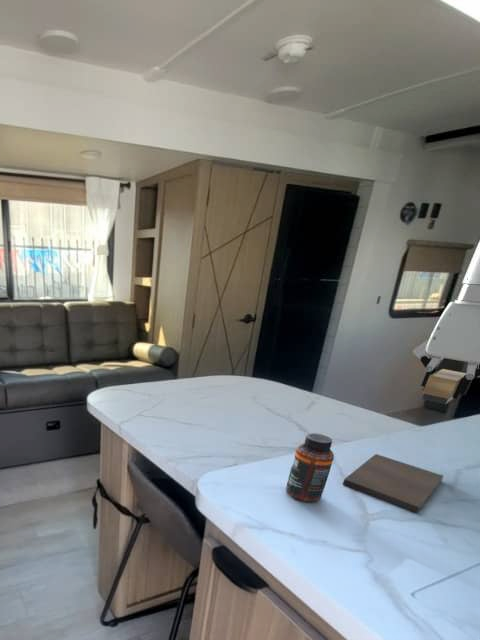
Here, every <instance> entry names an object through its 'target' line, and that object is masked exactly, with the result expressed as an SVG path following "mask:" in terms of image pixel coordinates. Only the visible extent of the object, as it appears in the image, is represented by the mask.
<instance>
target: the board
mask: <svg viewBox="0 0 480 640" xmlns="http://www.w3.org/2000/svg"><path fill="white" fill-rule="evenodd" d="M443 479H444V475H443V474H440V473H437V472H434V471H430V470H426V469H424V468H421V467H417V466H416V465H411V464H408V463H405V462H403V461H399V460H396V459H392V458H389V457H387V456H384V455H381V454H377V453H375V454H374V455H372V456H371V457H370V458H369V459H367V460H366V461H365V462H363V464H361V465H360V466H359V467H358V468H356V469H355V470H354V471H352V472H351V473H350V474H349V475H347V477H345V478H344V480H343V481H342V485H343V486H346V487H348V488H351V489H354V490H356V491H359V492H362V493H364V494H365V495H366V494H367V495H369V496H371V497H374V498H376V499H379V500H382V501H385V502H387V503H390V504H392V505H395V506H397V507H400V508H402V509H405V510H408V511H410V512H413V513H415V514H417V513H419V511H420V510H421V508H422V507H423V506H424V504H425V503H426V502H427V500H429V498H430V496H431V495H432V494H433V493H434V492H435V490H436V489H437V487H438V486H439V485H440V483H442V481H443Z"/></svg>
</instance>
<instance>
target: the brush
mask: <svg viewBox="0 0 480 640" xmlns="http://www.w3.org/2000/svg"><path fill="white" fill-rule="evenodd" d="M464 375H466V372H461V371H456V370H451V369H447V368H446V369H445V368H442V369H440V370H437V372H436V373H434V374H432V375H430V376H429V379H428V381H427V383H426V386H425V388H424V387H423V388H424V391H423V390H422V391H423V392H422V394H423V395H422V397H421V399H422V400H424V401H428V402H432V403H433V402H434V403H438V404H442V405H447V404H448V403H449V402H451V401H452V400H454V399H453V396H454V393H455V391H456V389H457V387H458V385H459V382H460V380H461V379H462V378H463V377H464Z"/></svg>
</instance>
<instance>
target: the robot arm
mask: <svg viewBox="0 0 480 640" xmlns="http://www.w3.org/2000/svg"><path fill="white" fill-rule="evenodd" d="M412 354H413V355H414V356H415V357H417V359H419V360H420V362H421V363H422V365H423V367H424V368H425V372H426V373H425V375H424V377H423V380H422V382H421V385H420V386H421V387H423V389H422V391H421V392H422V393H423V391H424V388H425V386H426V383H427V381H428V379H429V376H430V375H432V374H434V373H436V372H438V366H440V364H441V362H442V361H443V360H444V359H448V360H455V361H460V362H465V363H467V366H466V372H465V373H466V375H464V377H463V378H462V379H461V380H460V382H459V385H458V387H457V389H456V391H455V393H454V396H453V399H452V400H458V399H460V397H461V396H465V395H466V394H467V392H468V390H469V388H470V386H471V384H472V381H473V379H476V378H478V377H480V367H479V366H480V240H479V241H478V243H477V246H476V247H475V251H474V253H473V255H472V258H471V260H470V262H469V265H468V267H467V269H466V273H465V275H464V277H463V279H462V282H461V284H460V287H459V289H458V292H457V294H456V296H455V299H454V301H450V302H449V303H448V304H447V306H446V307H445V308H444V310H443V312H442V314H441V315H440V317H439V319H438V321H437V322H436V324H435V326H434V328H433V330H432V332H431V334H430V337H429V338H427V339H426V340H424V341H423V342H422V343H421V344H419V345H418V346H416V347H415V348H414V349H412ZM432 356H433V357H432Z"/></svg>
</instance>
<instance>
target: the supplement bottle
mask: <svg viewBox="0 0 480 640" xmlns="http://www.w3.org/2000/svg"><path fill="white" fill-rule="evenodd" d="M332 443H333V439H332V438H331V437H330V436H328V435H325V434H321V433H313V432H312V433H307V434H306V436H305V439H304V443H302V444H300V445H298V446H297V447H296V449H295V452H294V457H293V460H292V464H291V467H290V471H289V474H288V478H287V482H286V486H285V491H286V493H287V494H288V495H289V496H291V497H292V498H293V499H296V500H299V501H302V502H305V503H306V502H307V503H313V502H314V503H315V502H318V501H320V500H321V499H322V496H323V494H324V491H325V487H326V484H327V481H328V478H329V475H330V472H331V468H332V465H333V462H334V458H335V455H334V452H333V451H332V450H331V447H332Z"/></svg>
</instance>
